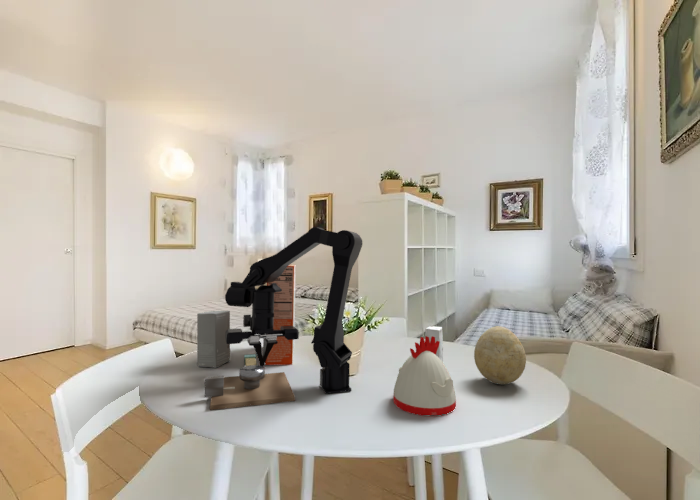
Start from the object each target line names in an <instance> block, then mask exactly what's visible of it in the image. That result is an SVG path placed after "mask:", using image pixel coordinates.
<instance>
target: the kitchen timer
mask: <svg viewBox="0 0 700 500" xmlns="http://www.w3.org/2000/svg"><path fill="white" fill-rule="evenodd" d="M439 343H440V342H439V341H436V343H435V337H433V336H432V337H431V341H429V337H427V336H426V337H422V336H420V338H419V343H418V342H417V341H416V342H414V347H415V350H414V349H413V348H411V347H410V348H409V351H410V355H409V357H408V358H407V359H406V360H405V362H404V363H402V366H401V367H399V368H398V374H397V376H396V381H395V382H394V388H393V395H392V396H393V399H392V400H393V404H394V405H395V406H396V407H397V408H398V409H399V410H402V411H403V412H406V413H409V414H412V413H413V415H417V414H418V415H417V416H423V415H441V416H443V415H442V414H446V415H448V414H447V413H449V412H451V411H453V410H454V409H455V410H456V408H455V407H456V405H457V404H456V403H457V396H456V395H457V394H456V391H455V387H454V380H453V379H452V377H451V374H450V372H449V370H448V368H447V367H446V365H445V364H444V361H443V362H442V361H441V360H440V358H439V357H438V356H436V353H437V350H438V347H439ZM455 410H454V411H455ZM454 411H453V412H454ZM451 413H452V412H451ZM449 414H450V413H449Z"/></svg>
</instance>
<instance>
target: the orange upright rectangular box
mask: <svg viewBox="0 0 700 500" xmlns="http://www.w3.org/2000/svg"><path fill="white" fill-rule="evenodd" d="M296 267H297V265H296V264H290V265H288V266H287V267H286V268H285V270H284V272H283V273H282V274H281V275H280V276H279V277H278V278H277V279H276V280H275V281H273V282H270V283H266V285H267V286H270V285H271V284H272V283H276V284H277V285H278V286H279V287H280V288H281V289H282V291H281V292H275V293H274V327H273V329H274V330H280V328H281V326H294V327H295V328H296V326H295V323H296V322H295V319H296V317H295V316H296V314H295V313H296V311H295V310H296V271H297V270H296ZM276 340H277V341H278V343H277V344H274V345H273V347H272V349H271V351H270V353H269V355H268V357H267V360H266V362H265V364H264V366H283V365H284V366H289V365H291V366H292V365H293V361H294V354H295V353H294V351H295V339H294V340H287V339H286V338H285V336H281V337H277V338H276Z"/></svg>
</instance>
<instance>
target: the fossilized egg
mask: <svg viewBox="0 0 700 500" xmlns="http://www.w3.org/2000/svg"><path fill="white" fill-rule="evenodd" d="M473 358H474V363H475V366H476V368H477V370H478V371H479V373H480V374H481V375H482V377H483V378H485V379H486V380H488V381H489V382H491V383H493V384H496V383H498V384H497V385H508V384H512V383H514V382H515V381H517V380H519V378H520V377H521V376H522V375H523V373H524V371H525V369H526V365H527V355H526V351H525V347H524V346H523V344H522V343H521V341H520V339H519V338H518V337H517V335H516V334H515V333H514V332H513V331H512V330H510V329H509V328H507V327H504V326H501V325H497V326H492V327H490V328H488V329H486V330H485V331H484V332H483V333H482V334H481V335H480V337H479V338H478V339H477V342H476V343H475V346H474V352H473Z"/></svg>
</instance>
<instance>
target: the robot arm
mask: <svg viewBox="0 0 700 500" xmlns="http://www.w3.org/2000/svg"><path fill="white" fill-rule="evenodd" d="M320 244H321V245H324V246H327V247H332V249H331V250H332V251H331V255H332V259H333V263H334V265H333V271H332V272H333V273H332V277H331V281H330V287H329V288H330V289H329V293H328V297H327V304H326V309H325V314H324V319H323V322H322V324H319V325H317V326H315V327H314V329H313V339H312V340H311V342H310V343H311V344H312V350H313V353H314V354H315V355H316V356H317V358H318V359H317V360H318V362H319V365H320V367H321V368H320V370H319V386H320V387H321V389H323V392H325V394H335V393H344V392H352V387H351V386H350V363H349V361H350V360H351V358H352V355H353V352H352V351H351V349H349V347H348V346H347V344H345V341H344V340H345V331H344V327H343V326H344V325H343V318H344V312H345V307H346V304H347V303H346V302H347V296H348V291H349V286H350V281H351V276H352V270H353V267H354V266H355V263H356V262H357V260H358V259H359V255H360V252H361V250H362V247H363V239H362V237H361V235H360V234H359V233H357V232H355V231H350V230H346V229H344V230H339V231H338V232H336V231H331V230H327V229H326V230H325V229H324V228H322V227H318V226H317V227H316V226H313V227H311V228H309V230H307V232H306V233H303V234H302V235H301V236H300V237H297V238H296V239H295V240H294V241H292V242H291V243H290V244H288V245H287V246H285V247H284V248H283V249H281V250H280V251H279V252H277V253H276V254H273V255H270V256H268V257H265V258H262V259H260V260H257V261H256V262H254V263H252V264H251V266H250V267H249V272H248V273H247V275H246V277H245V278H244V279H243V281H242V282H240V281H231V282H230V286H229V287H228V288H227V290H226V293H225V295H224V297H225V298H224V299H225V304H226V305H227V306H229V307H239V308H241V307H242V308H249V307H251V306H252V307H251V314H244V315H243V316H242V317H243V318H242V319H243V324H242V325H243V326H242V327H244V328H248V327H249V330H250V331H243V330H242V328H230V329H228V330H227V331H226V333H225V340H226V344H230V345H235V344H241V343H242V342H243V340H246V341H247V343H248V345H249V346H251V347H252V346H253V348H254V352H255V354H256V359H257V360H258V361H257V362H258V364H259V365H260V366H264V367H265V362H266V360H267V357H268V355H269V353H270V351H271V349H272V347H273V345H274V344H277V343H278V341H277V340H276V338H277V337H281V336H285V338H286V339H287V340H294V341H295V340H299V338H300V337H299V336H300V332H299V329H298V328H297V327H296V326H295V327H294V326H281V328H280V330H274V329H273V327H274V293H275V292H281V291H282V289H281V288H280V287H279V286H278V285H277V284H276V283H272V284H271V285H270V286H267V283H270V282H273V281H275V280H276V279H277V278H278V277H279V276H280V275H281V274H282V273H283V272H284V270H285V268H286V267H287V266H288V265H292V264H294V262H296V261H297V260H298V259H300V258H302V257H303V256H305V255H306V254H307V253H308V252H310V251H312V250H313V249H314V248H316V247H317V246H319V245H320ZM260 339H263V342H261V340H260ZM262 343H263V346H262Z"/></svg>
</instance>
